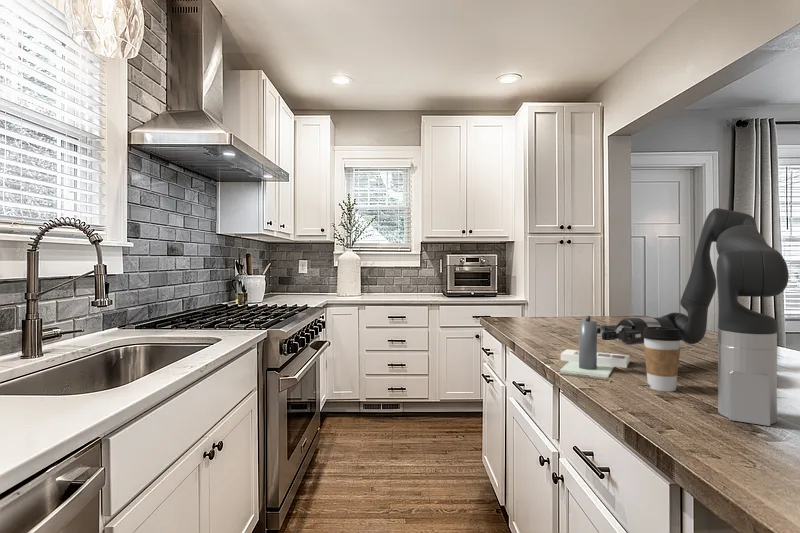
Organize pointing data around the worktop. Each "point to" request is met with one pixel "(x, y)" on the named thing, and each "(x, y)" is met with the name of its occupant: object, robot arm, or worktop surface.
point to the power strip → (598, 358)
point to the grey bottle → (588, 344)
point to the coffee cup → (662, 357)
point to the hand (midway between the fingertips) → (592, 333)
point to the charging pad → (587, 371)
